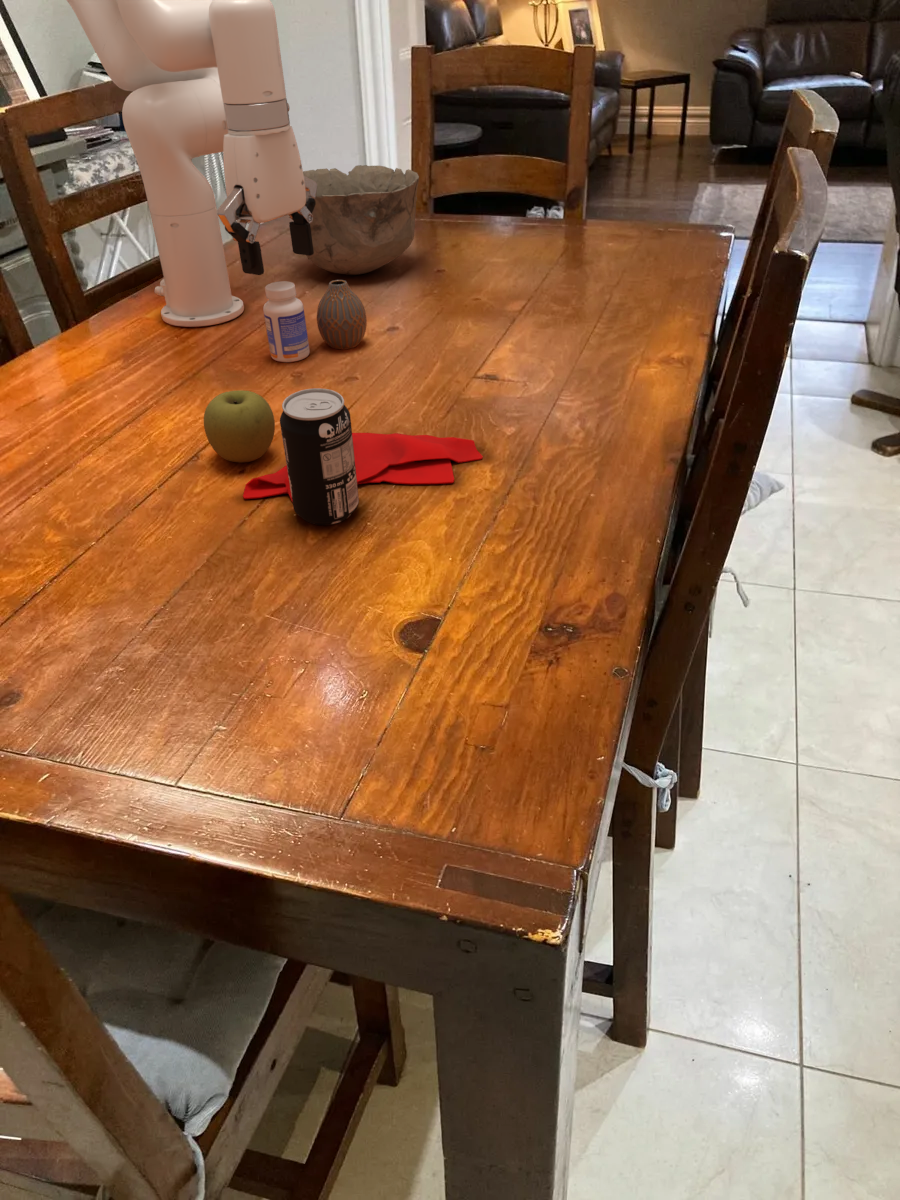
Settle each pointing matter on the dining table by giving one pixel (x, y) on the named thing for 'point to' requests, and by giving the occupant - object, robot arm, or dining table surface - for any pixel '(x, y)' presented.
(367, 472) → the cloth
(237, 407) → the apple
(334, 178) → the bowl
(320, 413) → the beverage can
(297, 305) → the pill bottle
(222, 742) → the dining table surface
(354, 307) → the vase
